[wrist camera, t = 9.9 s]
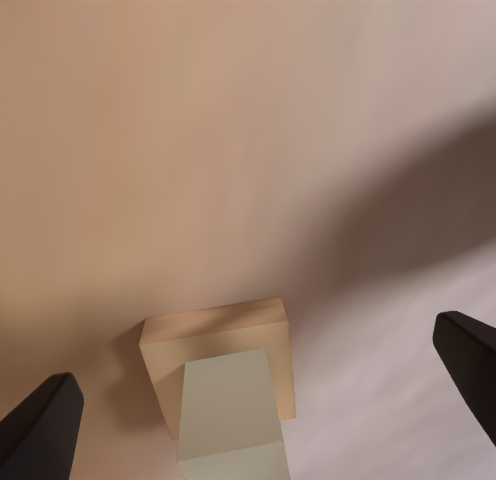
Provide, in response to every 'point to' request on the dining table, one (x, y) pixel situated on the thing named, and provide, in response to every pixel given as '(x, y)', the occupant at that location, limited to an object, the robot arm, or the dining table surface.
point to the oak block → (217, 349)
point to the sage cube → (230, 420)
